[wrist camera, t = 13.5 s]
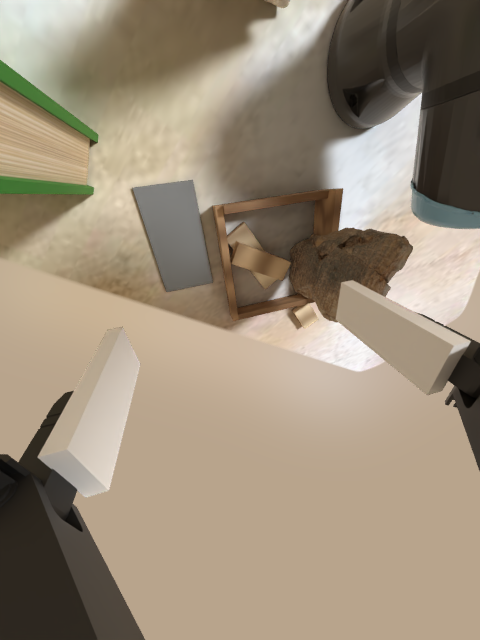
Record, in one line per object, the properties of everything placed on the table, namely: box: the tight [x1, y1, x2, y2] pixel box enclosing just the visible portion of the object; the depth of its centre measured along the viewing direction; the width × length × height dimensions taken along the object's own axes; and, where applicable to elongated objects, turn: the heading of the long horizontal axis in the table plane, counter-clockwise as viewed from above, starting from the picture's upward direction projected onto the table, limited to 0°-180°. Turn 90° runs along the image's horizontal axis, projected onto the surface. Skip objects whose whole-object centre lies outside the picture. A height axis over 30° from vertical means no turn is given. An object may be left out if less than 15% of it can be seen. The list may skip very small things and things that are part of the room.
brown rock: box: [289, 228, 413, 322], centre depth 36 cm, size 14×5×20 cm, turn 163°
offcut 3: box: [292, 303, 318, 329], centre depth 52 cm, size 6×4×2 cm, turn 35°
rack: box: [212, 189, 343, 321], centre depth 40 cm, size 21×20×6 cm
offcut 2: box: [230, 241, 291, 281], centre depth 40 cm, size 11×4×2 cm, turn 69°
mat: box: [133, 180, 213, 292], centre depth 37 cm, size 17×9×1 cm, turn 7°
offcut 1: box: [227, 222, 278, 290], centre depth 42 cm, size 13×4×2 cm, turn 38°
